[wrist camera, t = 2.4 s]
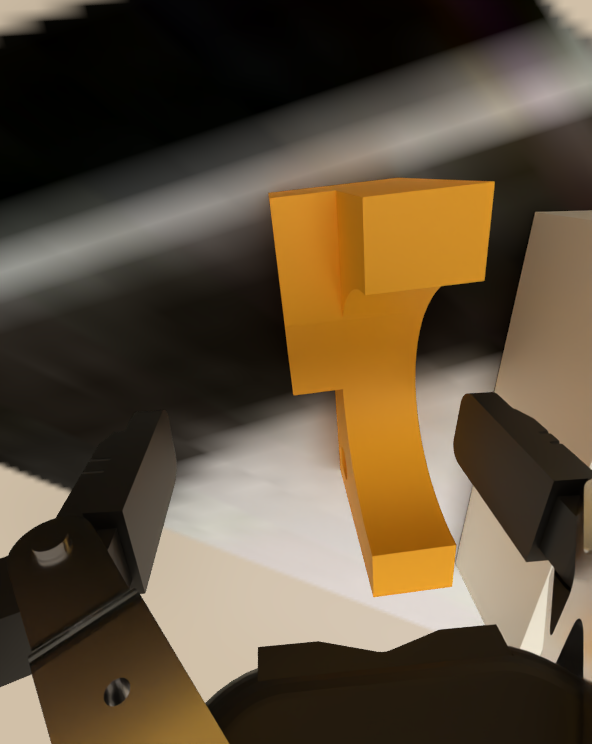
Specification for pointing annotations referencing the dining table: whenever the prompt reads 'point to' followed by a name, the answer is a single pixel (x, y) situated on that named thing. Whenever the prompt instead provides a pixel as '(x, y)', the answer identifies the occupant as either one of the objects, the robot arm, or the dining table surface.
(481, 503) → the walled box
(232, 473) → the dining table surface
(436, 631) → the robot arm
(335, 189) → the pipe clamp
